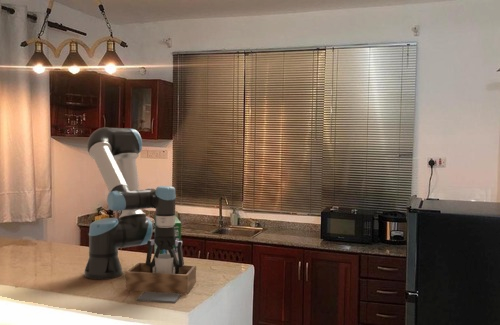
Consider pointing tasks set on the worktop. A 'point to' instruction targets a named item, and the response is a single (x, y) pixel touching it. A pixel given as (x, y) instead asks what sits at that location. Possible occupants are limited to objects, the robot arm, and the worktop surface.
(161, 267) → the cup
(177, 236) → the milk carton
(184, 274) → the crate
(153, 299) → the slate mat
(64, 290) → the worktop surface
